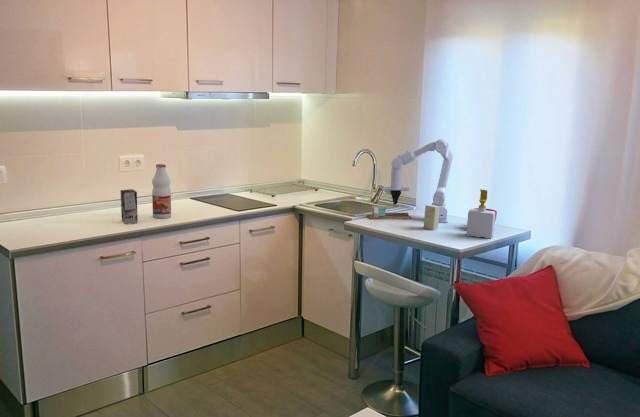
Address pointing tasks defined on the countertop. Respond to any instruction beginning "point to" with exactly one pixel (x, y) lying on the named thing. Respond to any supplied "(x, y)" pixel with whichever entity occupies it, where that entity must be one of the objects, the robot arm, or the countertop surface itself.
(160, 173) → the fruit juice
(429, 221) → the skincare box
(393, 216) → the rail board
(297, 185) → the countertop surface
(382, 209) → the keeper
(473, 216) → the soap bottle
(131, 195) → the coffee box
